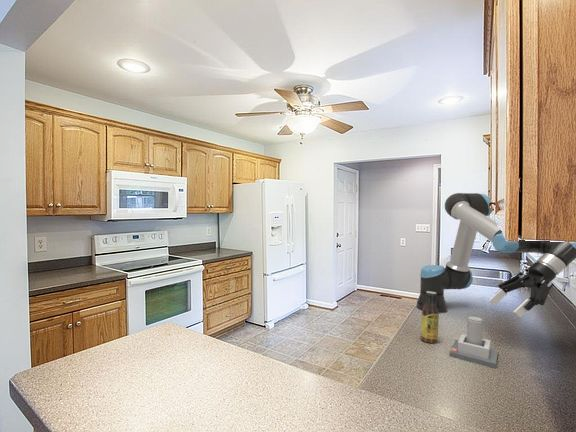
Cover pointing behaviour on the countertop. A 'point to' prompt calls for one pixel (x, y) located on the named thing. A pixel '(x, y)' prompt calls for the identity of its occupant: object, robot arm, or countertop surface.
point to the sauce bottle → (430, 319)
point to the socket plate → (475, 352)
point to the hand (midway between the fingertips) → (503, 308)
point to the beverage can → (474, 330)
